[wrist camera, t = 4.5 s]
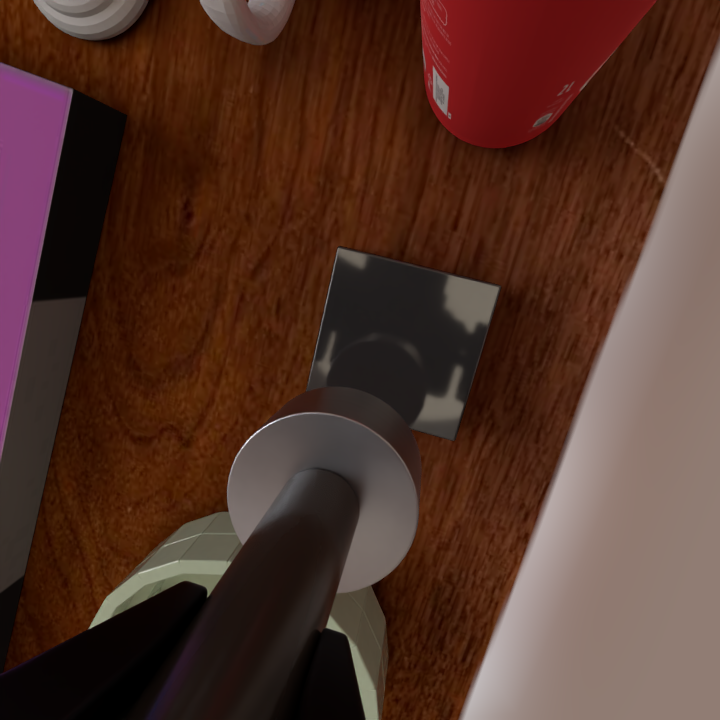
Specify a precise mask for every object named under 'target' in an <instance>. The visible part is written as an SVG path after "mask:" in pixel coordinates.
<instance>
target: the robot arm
mask: <svg viewBox="0 0 720 720" xmlns="http://www.w3.org/2000/svg"><path fill="white" fill-rule="evenodd" d="M207 595H208V592H207V589H206V587H204V586H202V585H199V584H196V583H193V582H190V581H182V582H180V583H178V584H176V585H174V586H172V587H170V588H168V589H166V590H164V591H162V592H160V593H158V594H156V595H154V596H152V597H150V598H149V599H147V600H145V601H143V602H141V603H139V604H137V605H135V606H133V607H131V608H129V609H127V610H125V611H123V612H121V613H119V614H117V615H115V616H113V617H111V618H110V619H108V620H106V621H104V622H102V623H100V624H98V625H96V626H94V627H92V628H90V629H88V630H86V631H84V632H82V633H80V634H78V635H76V636H74V637H73V638H71V639H69V640H67V641H65V642H63V643H61V644H59V645H57V646H55V647H53V648H51V649H49V650H47V651H45V652H43V653H41V654H39V655H37V656H36V657H34V658H32V659H30V660H28V661H26V662H24V663H22V664H20V665H18V666H16V667H14V668H12V669H10V670H8V671H6V672H4V673H2V674H0V720H124V718H125V717H126V715H127V714H128V712H129V711H130V709H131V708H132V706H133V705H134V704H135V702H136V701H137V699H138V698H139V696H140V695H141V693H142V692H143V690H144V689H145V688H146V686H147V685H148V683H149V682H150V680H151V679H152V677H153V676H154V674H155V673H156V672H157V670H158V669H159V667H160V666H161V664H162V663H163V661H164V660H165V658H166V657H167V656H168V654H169V653H170V651H171V650H172V648H173V647H174V645H175V644H176V642H177V641H178V640H179V638H180V637H181V635H182V634H183V632H184V631H185V629H186V628H187V626H188V625H189V624H190V622H191V621H192V619H193V618H194V616H195V615H196V613H197V612H198V610H199V609H200V608H201V606H202V605H203V603H204V602H205V600H206V599H207ZM295 720H366V718H365V713H364V708H363V704H362V699H361V695H360V690H359V686H358V681H357V676H356V672H355V667H354V663H353V658H352V653H351V649H350V644H349V640H348V637H347V636H346V635H345V634H344V633H341V632H338V631H335V630H332V629H329V628H324V629H323V630H322V632H321V635H320V638H319V641H318V644H317V647H316V650H315V654H314V657H313V660H312V663H311V666H310V669H309V672H308V675H307V679H306V682H305V685H304V689H303V693H302V697H301V700H300V704H299V708H298V711H297V715H296V719H295Z"/></svg>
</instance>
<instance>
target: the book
mask: <svg viewBox="0 0 720 720" xmlns="http://www.w3.org/2000/svg"><path fill="white" fill-rule="evenodd" d="M126 118H127V115H125V114H123V113H121V112H119V111H117V110H115V109H113V108H111V107H109V106H107V105H105V104H103V103H101V102H99V101H97V100H95V99H93V98H91V97H89V96H87V95H85V94H83V93H81V92H79V91H77V90H75V89H72V88H69V87H67V86H64V85H61V84H59V83H56V82H53V81H50V80H48V79H45V78H42V77H40V76H37V75H34V74H31V73H29V72H26V71H23V70H21V69H18V68H15V67H12V66H10V65H7V64H4V63H2V62H0V674H2V673H3V668H4V664H5V659H6V655H7V651H8V646H9V642H10V637H11V633H12V628H13V624H14V619H15V615H16V610H17V606H18V601H19V597H20V592H21V588H22V583H23V579H24V574H25V570H26V565H27V561H28V557H29V552H30V548H31V543H32V539H33V534H34V530H35V525H36V521H37V516H38V512H39V507H40V503H41V498H42V494H43V489H44V485H45V480H46V476H47V471H48V467H49V463H50V458H51V454H52V449H53V445H54V440H55V436H56V431H57V427H58V422H59V418H60V413H61V409H62V404H63V400H64V395H65V391H66V386H67V382H68V377H69V373H70V369H71V364H72V360H73V355H74V351H75V346H76V342H77V337H78V333H79V328H80V324H81V319H82V315H83V310H84V306H85V301H86V297H87V292H88V288H89V283H90V279H91V274H92V270H93V266H94V261H95V257H96V252H97V248H98V243H99V239H100V234H101V230H102V225H103V221H104V216H105V212H106V207H107V203H108V198H109V194H110V189H111V185H112V180H113V176H114V172H115V167H116V163H117V158H118V154H119V149H120V145H121V140H122V136H123V131H124V127H125V122H126Z"/></svg>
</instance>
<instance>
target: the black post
mask: <svg viewBox="0 0 720 720" xmlns="http://www.w3.org/2000/svg"><path fill="white" fill-rule="evenodd" d="M421 471H422V469H421V458H420V453H419V448H418V446H417V443H416V440H415V438H414V436H413V434H412V432H411V430H410V428H409V427H408V425H407V424H406V422H405V421H404V420H403V419H402V417H401V416H400V415H399V414H398V413H397V412H396V411H395V410H394V409H393V408H391V407H390V406H389V405H388V404H386V403H385V402H383V401H382V400H380V399H379V398H377V397H375V396H373V395H371V394H369V393H366V392H363V391H360V390H357V389H352V388H347V387H324V388H318V389H314V390H311V391H307V392H305V393H303V394H301V395H299V396H296V397H295V398H293V399H292V400H290V401H289V402H288V403H286V404H285V405H284V406H283V407H282V408H281V409H280V410H279V411H277V412H276V413H275V414H274V415H273V416H272V417H271V418H270V419H269V420H268V421H267V422H266V423H264V424H263V425H262V426H261V427H260V428H259V429H258V430H257V431H256V432H255V433H254V434H253V435H251V436H250V437H249V439H248V440H247V441H246V442H245V443H244V444H243V446H242V447H241V449H240V450H239V452H238V454H237V455H236V457H235V460H234V462H233V464H232V467H231V470H230V474H229V478H228V486H227V503H228V510H229V515H230V518H231V522H232V525H233V527H234V530H235V532H236V534H237V536H238V538H239V540H240V542H241V543H242V545H243V546H242V548H241V549H240V551H239V552H238V554H237V555H236V557H235V558H234V560H233V561H232V562H231V564H230V565H229V567H228V568H227V570H226V571H225V573H224V574H223V576H222V577H221V578H220V580H219V581H218V583H217V584H216V586H215V587H214V589H213V590H212V592H211V593H210V594H209V596H208V597H207V599H206V600H205V602H204V603H203V605H202V606H201V608H200V609H199V610H198V612H197V613H196V615H195V616H194V618H193V619H192V621H191V622H190V624H189V625H188V626H187V628H186V629H185V631H184V632H183V634H182V635H181V637H180V638H179V640H178V641H177V642H176V644H175V645H174V647H173V648H172V650H171V651H170V653H169V654H168V656H167V657H166V658H165V660H164V661H163V663H162V664H161V666H160V667H159V669H158V670H157V672H156V673H155V674H154V676H153V677H152V679H151V680H150V682H149V683H148V685H147V686H146V688H145V689H144V690H143V692H142V693H141V695H140V696H139V698H138V699H137V701H136V702H135V704H134V705H133V706H132V708H131V709H130V711H129V712H128V714H127V715H126V717H125V718H124V720H295V719H296V715H297V711H298V708H299V704H300V700H301V697H302V693H303V689H304V685H305V682H306V679H307V675H308V672H309V669H310V666H311V663H312V660H313V657H314V654H315V650H316V647H317V644H318V641H319V638H320V635H321V632H322V630H323V629H324V628H326V627H327V623H328V620H329V617H330V613H331V610H332V607H333V603H334V600H335V597H336V593H347V592H351V591H356V590H360V589H362V588H365V587H368V586H370V585H372V584H374V583H376V582H378V581H380V580H381V579H383V578H384V577H385V576H387V575H388V574H389V573H391V572H392V571H393V570H394V569H395V568H396V567H397V566H398V565H399V563H400V562H401V561H402V560H403V558H404V557H405V556H406V554H407V552H408V550H409V549H410V547H411V545H412V542H413V540H414V537H415V534H416V530H417V525H418V516H419V502H420V486H421Z"/></svg>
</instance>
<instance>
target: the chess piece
mask: <svg viewBox="0 0 720 720" xmlns="http://www.w3.org/2000/svg"><path fill="white" fill-rule="evenodd" d="M33 1H34V3H35V4H36V5H37V7H38V8H39V10H40V11H41V12H42V13H43V14H44V15H45V16H46V18H47V19H48V20H49V21H50V22H51V23H52V24H54V25H55V26H56V27H57V28H59V29H60V30H62V31H63V32H65V33H67V34H69V35H71V36H74V37H78V38H81V39H86V40H105V39H109V38H112V37H115V36H117V35H119V34H121V33H123V32H124V31H125V30H127V29H128V28H130V27H131V26H132V25H133V24H134V23H135V22H136V20H137V19H138V18H139V17H140V15H141V14H142V12H143V11H144V9H145V7H146V5H147V3H148V1H149V0H33Z"/></svg>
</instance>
